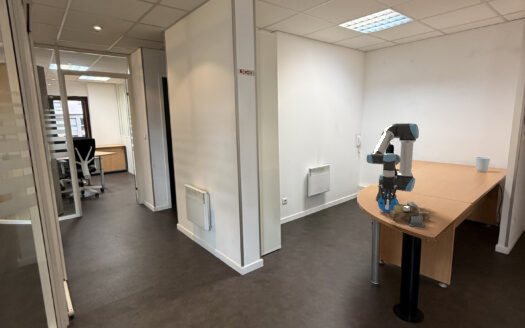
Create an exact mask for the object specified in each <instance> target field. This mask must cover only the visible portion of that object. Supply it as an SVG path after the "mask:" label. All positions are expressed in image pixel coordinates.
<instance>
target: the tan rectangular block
mask: <svg viewBox="0 0 525 328" xmlns="http://www.w3.org/2000/svg"><path fill="white" fill-rule="evenodd" d="M402 206H403V205H398V206H396V205H394V210H393V211H394V212H395V213H403V207H402Z"/></svg>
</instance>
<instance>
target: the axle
mask: <svg viewBox="0 0 525 328" xmlns="http://www.w3.org/2000/svg"><path fill="white" fill-rule="evenodd" d="M401 206H402V207H403V212H410V207H408V206H407V205H406V206H405V205H404V206H403V205H401ZM420 210H421V209H420V207H419V206H418V210H417V213H419V212H421V211H420Z"/></svg>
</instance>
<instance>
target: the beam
mask: <svg viewBox="0 0 525 328" xmlns="http://www.w3.org/2000/svg"><path fill="white" fill-rule="evenodd" d="M406 203H407V204H406V206H408V207H410V212H403V213H395V212H394V211H393V210H390V213H389V218H390V219H392V221H397V222H406V221H409V215H421V217H423V219H422V221H430V220H431V219H430V218H431V213H430V212H429V211H419V213H417V210H418V207H419V206H418V205H417V203H415V202H414V201H407V202H406Z"/></svg>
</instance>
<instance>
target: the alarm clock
mask: <svg viewBox="0 0 525 328" xmlns="http://www.w3.org/2000/svg"><path fill="white" fill-rule="evenodd" d="M383 195H384V192H383ZM380 196H381V194H380ZM391 196H392V193H391ZM387 199H388V194H387ZM394 205H396V206H399V199H398V198H397V194H396V193H395V196H394V199H393V200H391V203H390V205H389V210H386V208H385V206H386V205H385V204H384V199H382V198H381V197H380V198H379V200H378V201H377V206H378V208H379V209H380V210H381V211H382V212H384V213H386V214H387V213H388V214H390V210H394Z"/></svg>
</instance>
